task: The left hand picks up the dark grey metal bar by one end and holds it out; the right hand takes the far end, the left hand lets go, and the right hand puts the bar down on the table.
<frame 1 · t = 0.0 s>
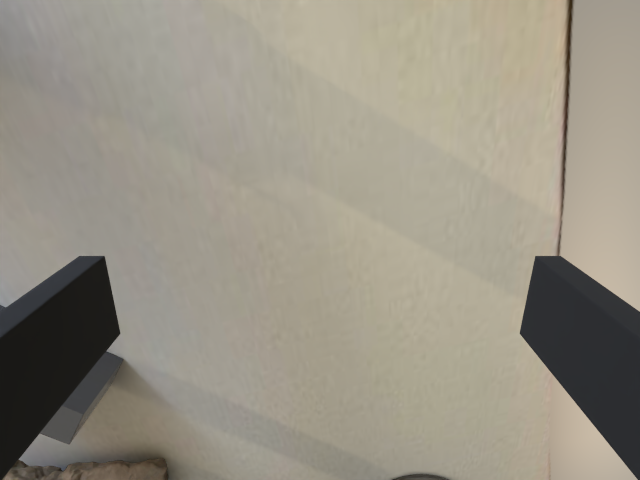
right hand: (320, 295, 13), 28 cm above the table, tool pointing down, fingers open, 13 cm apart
bar: (5, 324, 46), on the table
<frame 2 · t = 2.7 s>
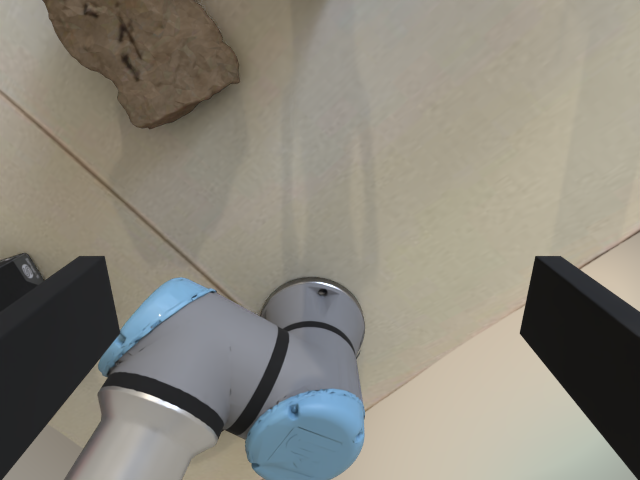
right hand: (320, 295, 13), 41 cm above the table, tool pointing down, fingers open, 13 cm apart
stone: (150, 24, 46), on the table
graphics card box: (42, 304, 59), on the table
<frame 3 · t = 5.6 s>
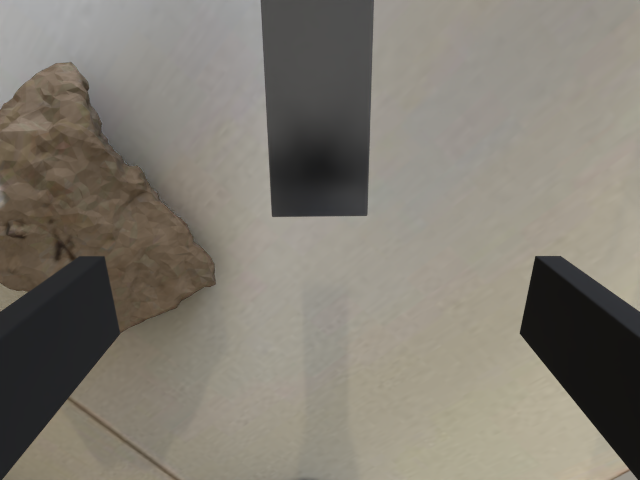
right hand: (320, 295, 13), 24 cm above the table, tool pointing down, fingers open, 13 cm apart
stone: (103, 213, 36), on the table
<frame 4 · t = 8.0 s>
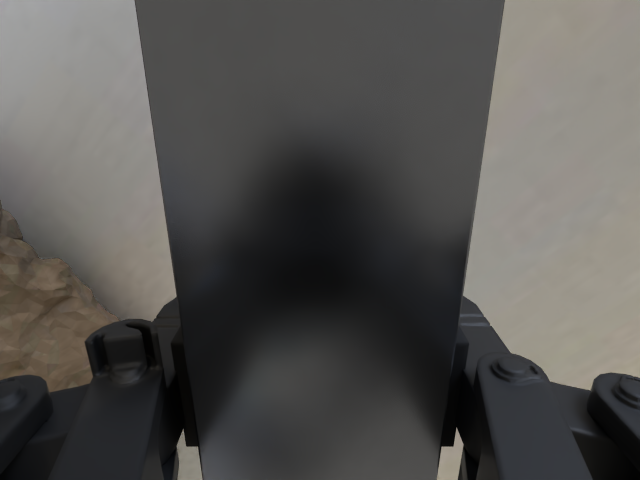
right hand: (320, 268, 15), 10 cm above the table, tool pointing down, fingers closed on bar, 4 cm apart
stone: (22, 311, 26), on the table
when the left hand's fingers open (13 cm above the table, at t = 8.8 s): bar stays where it is, held by the right hand.
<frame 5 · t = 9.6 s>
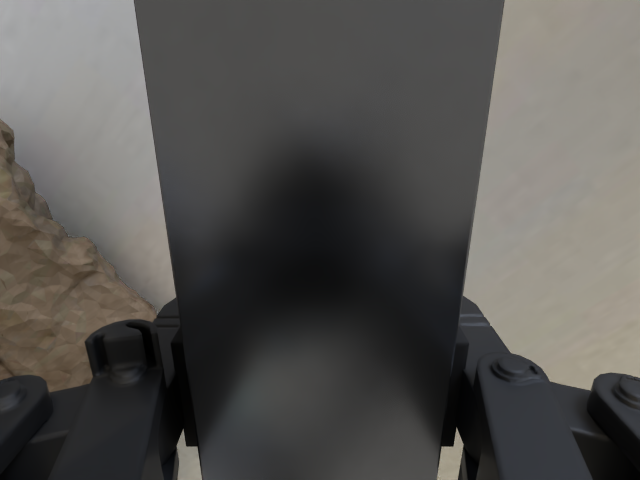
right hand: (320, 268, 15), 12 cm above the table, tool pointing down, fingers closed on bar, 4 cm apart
stone: (49, 288, 29), on the table
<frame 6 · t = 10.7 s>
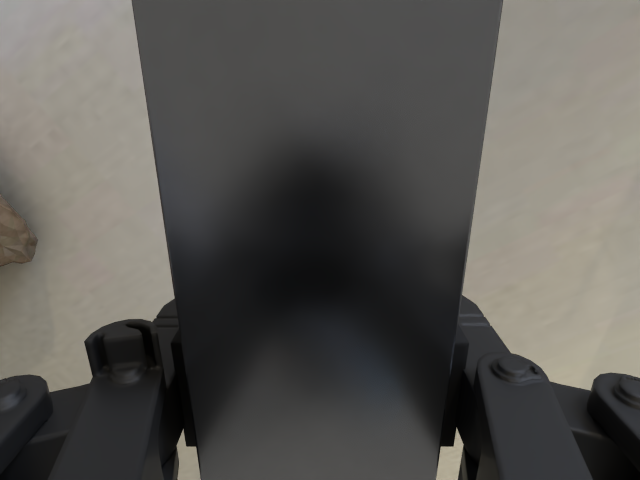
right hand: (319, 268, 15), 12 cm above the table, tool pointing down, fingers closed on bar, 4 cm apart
when the right hand's fingers open (2 cm above the table, at t = 13.3 s): bar stays where it is, on the table.
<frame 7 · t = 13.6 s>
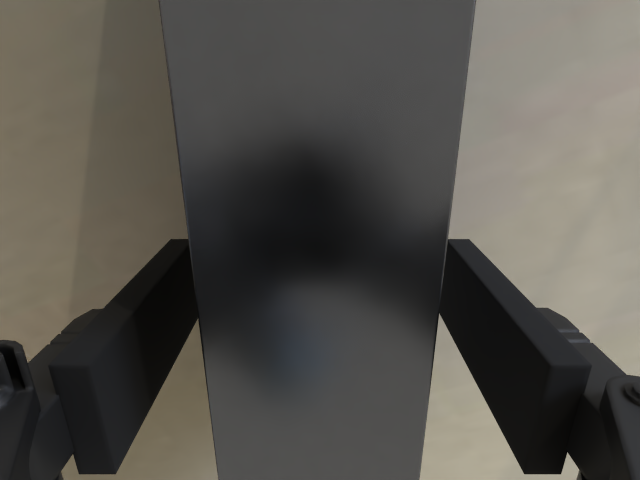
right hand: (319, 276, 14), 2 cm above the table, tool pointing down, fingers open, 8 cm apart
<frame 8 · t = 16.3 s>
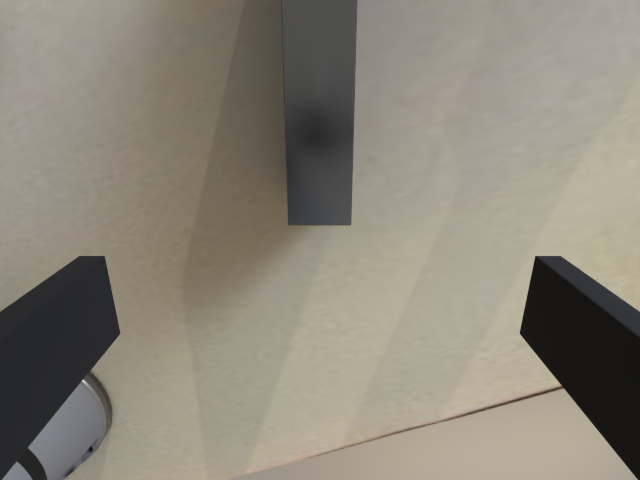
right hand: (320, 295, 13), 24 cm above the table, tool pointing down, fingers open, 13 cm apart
bar: (319, 32, 32), on the table
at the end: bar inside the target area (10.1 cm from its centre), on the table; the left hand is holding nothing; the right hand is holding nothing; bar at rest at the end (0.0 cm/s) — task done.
